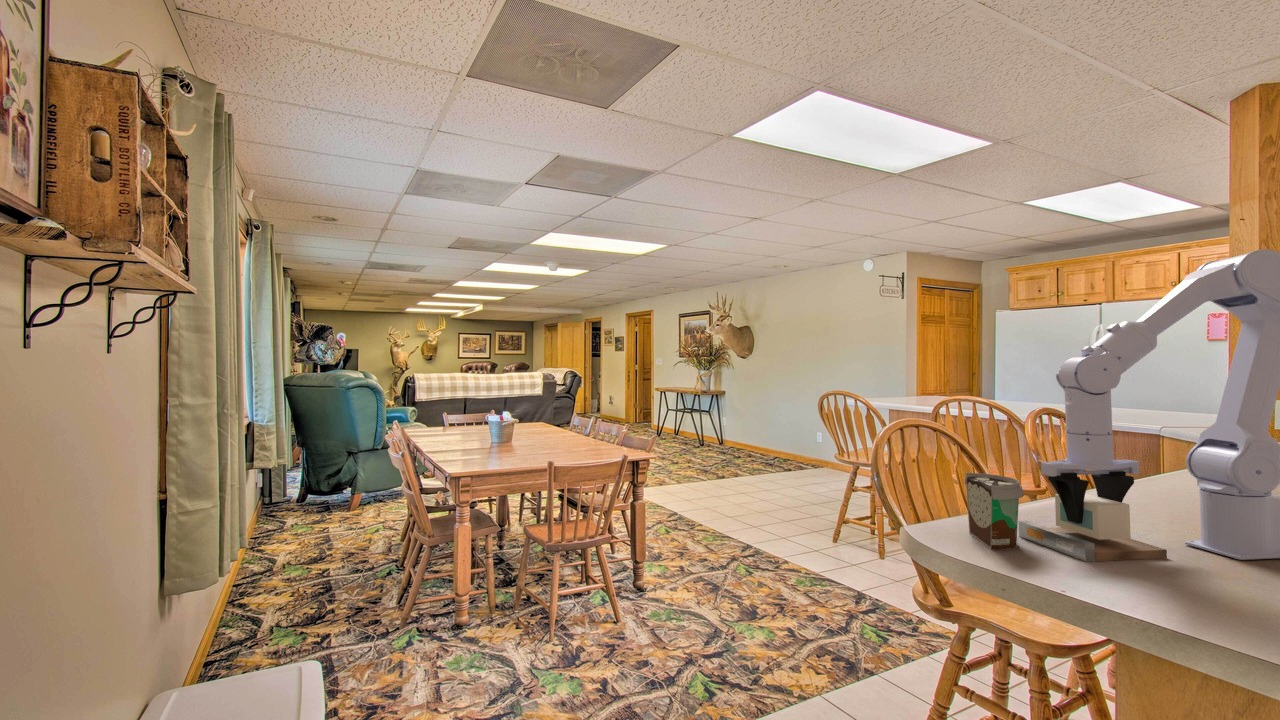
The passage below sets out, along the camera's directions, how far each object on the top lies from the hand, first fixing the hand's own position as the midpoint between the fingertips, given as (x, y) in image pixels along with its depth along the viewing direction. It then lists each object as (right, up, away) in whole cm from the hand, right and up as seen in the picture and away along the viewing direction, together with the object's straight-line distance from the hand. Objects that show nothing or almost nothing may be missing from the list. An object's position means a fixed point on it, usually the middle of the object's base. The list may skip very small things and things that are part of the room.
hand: (1091, 521), depth 90 cm
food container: (-12, -4, +3) cm, 13 cm away
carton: (0, -2, 0) cm, 2 cm away
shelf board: (0, -4, 0) cm, 4 cm away
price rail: (-6, -4, -1) cm, 7 cm away
